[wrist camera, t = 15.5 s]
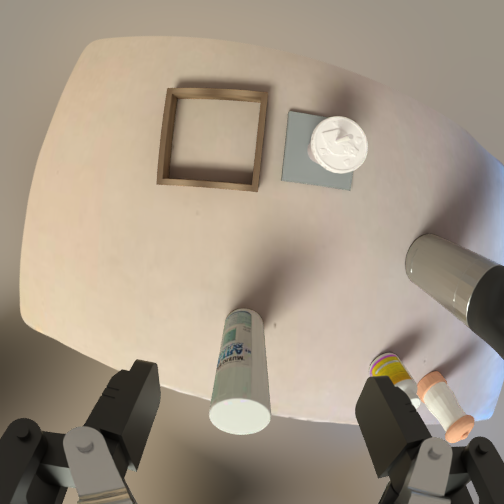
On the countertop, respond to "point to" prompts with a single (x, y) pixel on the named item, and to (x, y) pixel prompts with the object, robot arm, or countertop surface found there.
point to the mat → (297, 157)
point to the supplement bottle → (395, 375)
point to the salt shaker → (444, 406)
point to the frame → (169, 126)
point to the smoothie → (338, 145)
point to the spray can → (241, 376)
